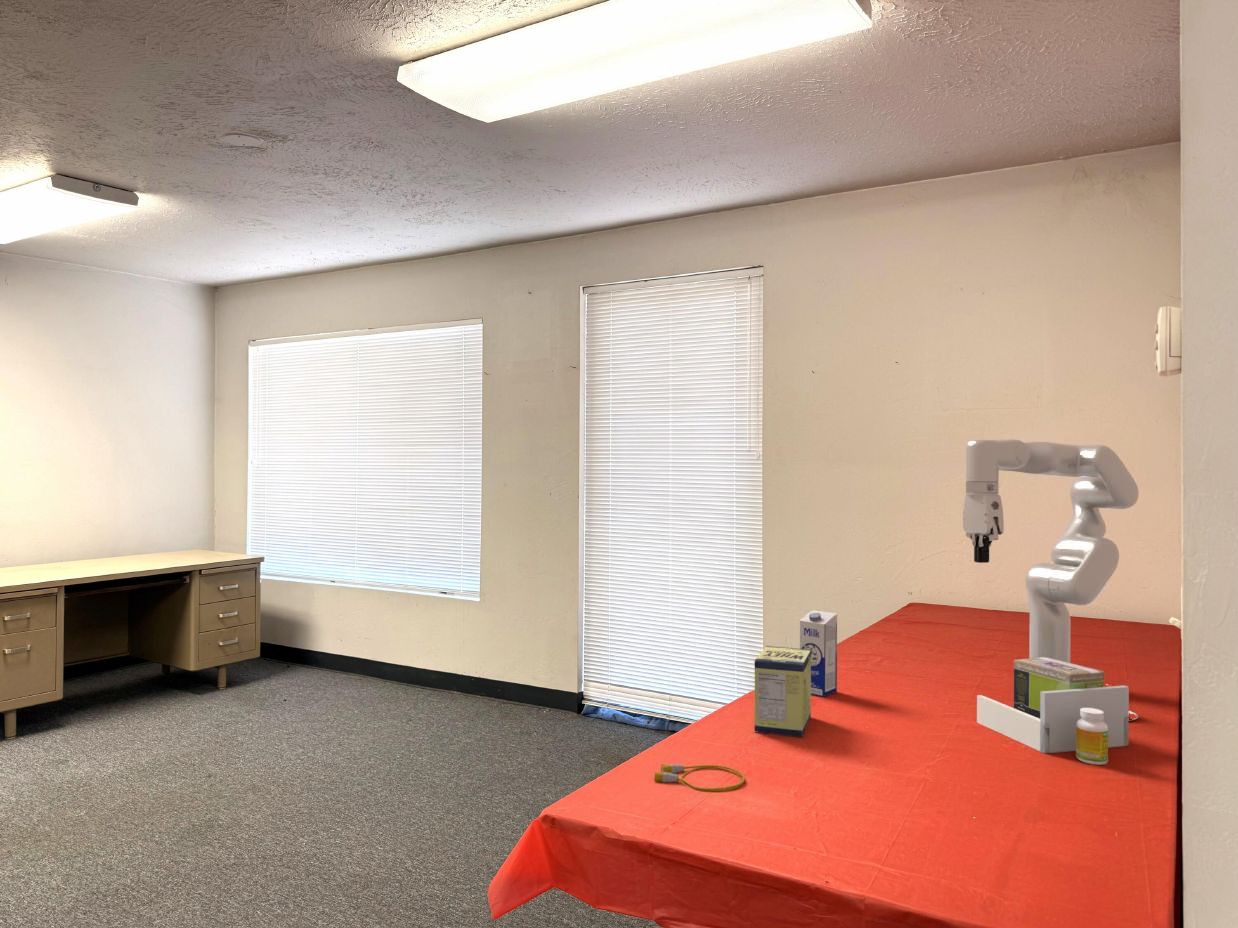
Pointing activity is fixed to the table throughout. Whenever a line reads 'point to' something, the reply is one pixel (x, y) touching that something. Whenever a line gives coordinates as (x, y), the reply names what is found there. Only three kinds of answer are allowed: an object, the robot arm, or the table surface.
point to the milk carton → (821, 650)
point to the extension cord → (675, 768)
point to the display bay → (1059, 717)
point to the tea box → (1049, 680)
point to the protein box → (783, 691)
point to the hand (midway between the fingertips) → (981, 562)
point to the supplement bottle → (1092, 737)
